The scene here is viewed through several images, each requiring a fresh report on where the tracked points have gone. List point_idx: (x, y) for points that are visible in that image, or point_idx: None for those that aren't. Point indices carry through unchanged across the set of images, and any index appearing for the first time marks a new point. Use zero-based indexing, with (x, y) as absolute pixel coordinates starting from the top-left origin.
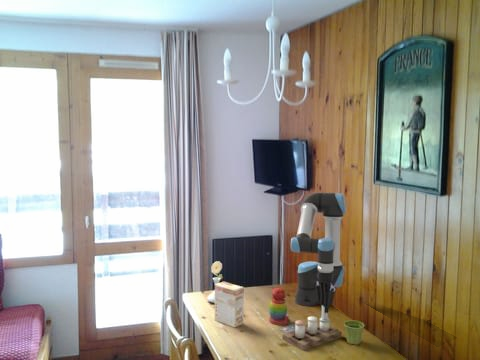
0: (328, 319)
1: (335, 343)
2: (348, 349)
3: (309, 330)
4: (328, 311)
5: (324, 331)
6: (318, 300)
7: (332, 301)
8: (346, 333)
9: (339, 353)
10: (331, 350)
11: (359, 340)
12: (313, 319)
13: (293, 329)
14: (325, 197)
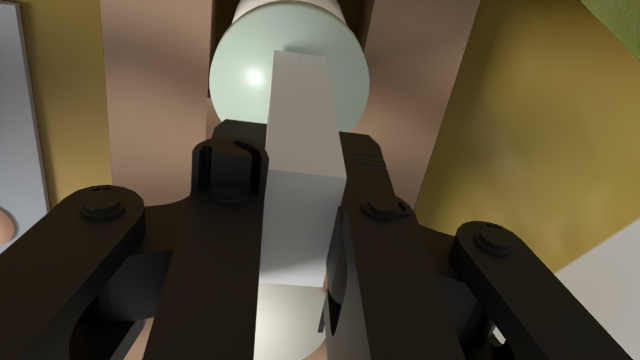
0: (351, 66)
1: (489, 112)
2: (633, 126)
3: None
4: (379, 148)
5: None
6: (102, 339)
7: (590, 336)
8: (628, 48)
9: (585, 225)
10: (514, 229)
11: None
12: (295, 341)
13: (19, 175)
14: None
